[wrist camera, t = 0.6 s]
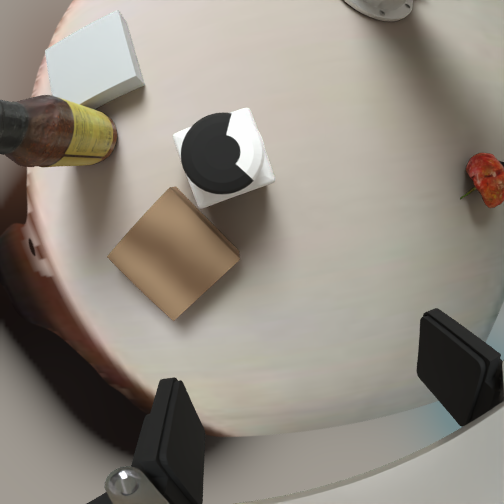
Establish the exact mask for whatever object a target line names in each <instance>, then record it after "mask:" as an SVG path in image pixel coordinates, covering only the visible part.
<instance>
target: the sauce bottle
mask: <svg viewBox="0 0 504 504" xmlns="http://www.w3.org/2000/svg"><path fill="white" fill-rule="evenodd" d="M116 140H117V130H116V127H115V124H114V123H113V121H112V119H110V118H109V117H108V116H106V115H105V114H103V113H102V112H99V111H97V110H94V109H91V108H88V107H85V106H82V105H80V104H77V103H74V102H71V101H68V100H65V99H62V98H59V97H55V96H50V95H42V96H37V97H33V98H29V99H25V100H21V101H17V102H8V101H3V100H0V154H5V155H6V156H7V157H8V158H10V159H11V160H12V161H14V162H15V163H16V164H18V165H20V166H24V167H34V166H39V167H55V166H81V165H93V164H95V163H99V162H101V161H102V160H104V159H105V158H107V157H108V156H109V155H110V154H111V153H112V151H113V149H114V147H115V144H116Z"/></svg>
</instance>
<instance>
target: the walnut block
mask: <svg viewBox="0 0 504 504" xmlns="http://www.w3.org/2000/svg"><path fill="white" fill-rule="evenodd" d="M107 257H108V258H109V259H110V260H111V262H112V263H113V264H114V265H115V266H116V267H117V268H118V269H119V270H120V271H121V272H122V273H123V274H124V275H125V276H126V277H127V278H128V279H129V280H130V281H131V282H132V283H133V284H134V285H135V286H136V287H138V288H139V289H140V290H141V291H142V292H143V293H144V294H145V295H146V296H147V297H148V298H149V299H150V300H151V301H152V302H153V303H154V304H155V305H157V306H158V307H159V308H160V309H161V310H162V311H163V312H164V313H165V314H166V315H167V316H169V317H170V318H171V319H172V320H173V321H174V320H175V319H176V318H178V317H179V316H180V315H181V314H182V313H183V312H184V311H185V310H186V309H187V308H188V307H189V306H190V305H192V304H193V303H194V302H195V301H196V300H197V299H198V298H199V297H200V296H201V295H202V294H203V293H204V292H206V291H207V290H208V289H209V288H210V287H211V286H212V285H213V284H214V283H215V282H216V281H217V280H218V279H220V278H221V277H222V276H223V275H224V274H225V273H226V272H227V271H228V270H229V269H230V268H231V267H233V266H234V265H235V264H236V263H237V262H238V261H239V260H240V255H239V250H238V249H237V248H236V247H235V246H234V245H233V244H232V243H231V242H230V241H229V240H228V239H227V238H226V237H225V236H224V235H223V234H222V233H221V232H220V231H219V230H218V229H217V228H216V227H215V226H214V225H213V224H212V223H211V222H210V221H209V220H208V219H207V218H206V217H205V216H204V215H203V214H202V213H201V212H200V211H199V210H198V209H197V208H196V206H195V205H194V204H193V203H192V202H191V201H190V200H189V199H188V198H187V197H186V196H185V195H184V194H183V193H182V192H181V191H180V190H179V189H178V188H177V187H170V188H169V189H168V190H167V191H166V192H165V193H164V194H163V195H162V196H161V197H160V198H159V199H158V200H157V201H156V202H155V203H154V204H153V205H152V207H151V208H150V209H149V210H148V211H147V212H146V213H145V214H144V215H143V216H142V217H141V218H140V220H139V221H138V222H137V223H136V224H135V225H134V226H133V227H132V228H131V230H130V231H129V232H128V233H127V234H126V235H125V236H124V237H123V239H122V240H121V241H120V242H119V243H118V244H117V246H116V247H115V248H114V249H113V250H112V251H111V253H110V254H109V255H108V256H107Z"/></svg>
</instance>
